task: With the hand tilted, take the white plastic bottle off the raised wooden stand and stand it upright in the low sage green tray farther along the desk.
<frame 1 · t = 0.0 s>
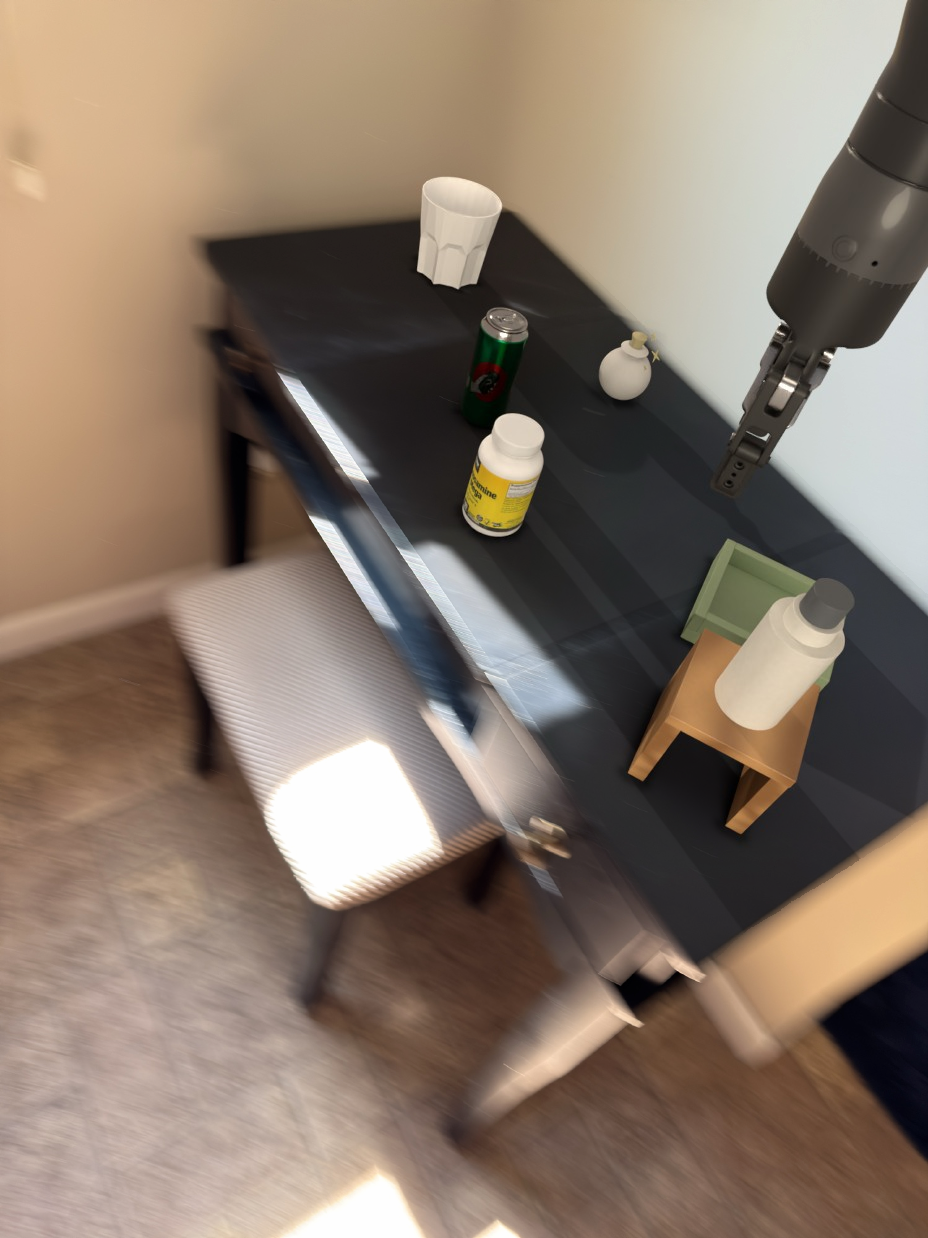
hand: (737, 459, 62), 23 cm above the table, tool pointing down, fingers open, 8 cm apart
sage green tray: (758, 628, 84), on the table
round potion bottle: (618, 399, 104), on the table
white bottle: (747, 700, 66), point 9 cm above the table, touching wooden stand
pill bottle: (491, 518, 86), on the table
soda can: (480, 416, 96), on the table
cup: (447, 272, 115), on the table
wooden stand: (699, 759, 73), on the table
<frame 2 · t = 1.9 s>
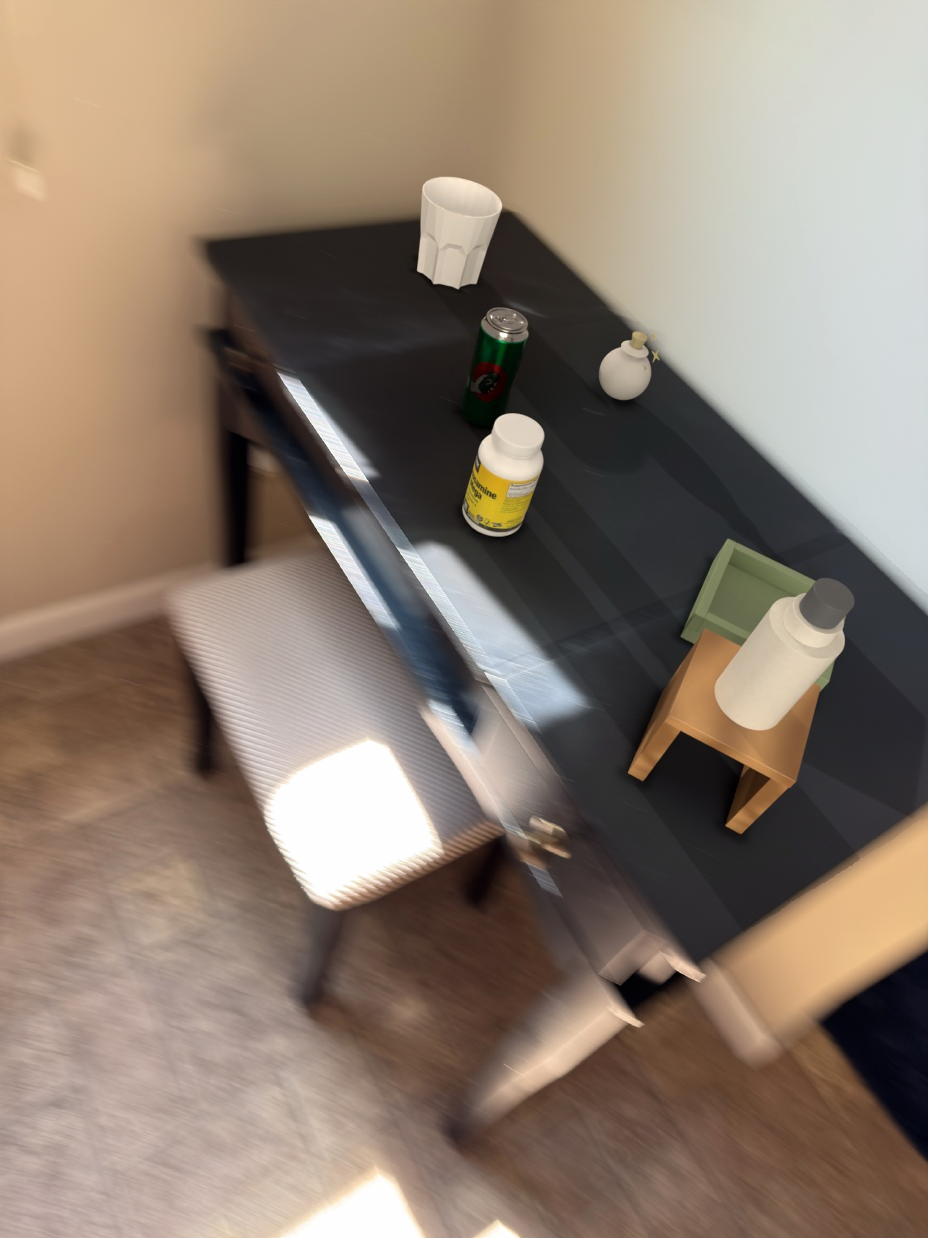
nothing on the table moved.
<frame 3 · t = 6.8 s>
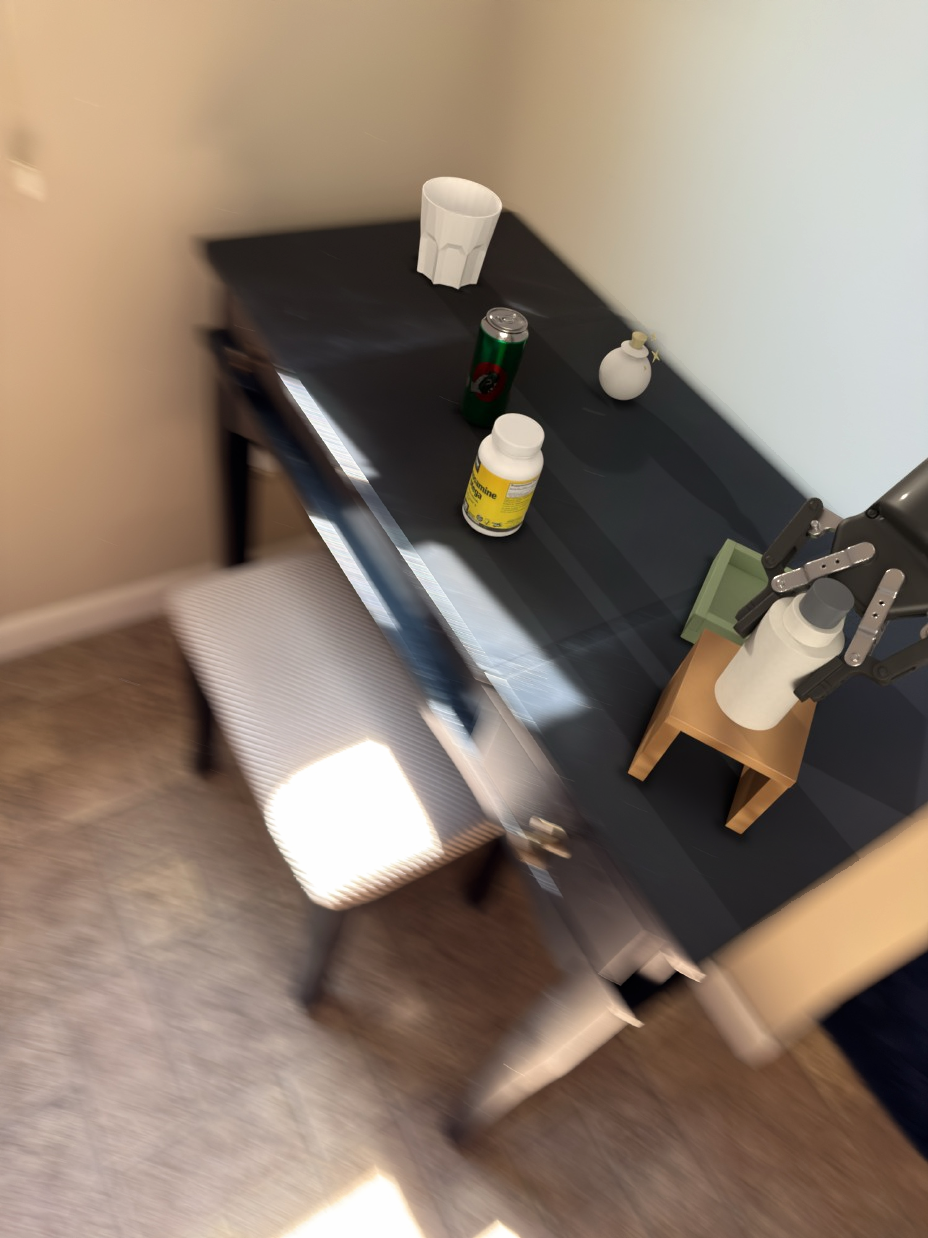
hand: (768, 664, 61), 15 cm above the table, tool tilted 45°, fingers closed on white bottle, 5 cm apart
white bottle: (748, 700, 66), point 9 cm above the table, touching gripper, wooden stand
everything else where it was.
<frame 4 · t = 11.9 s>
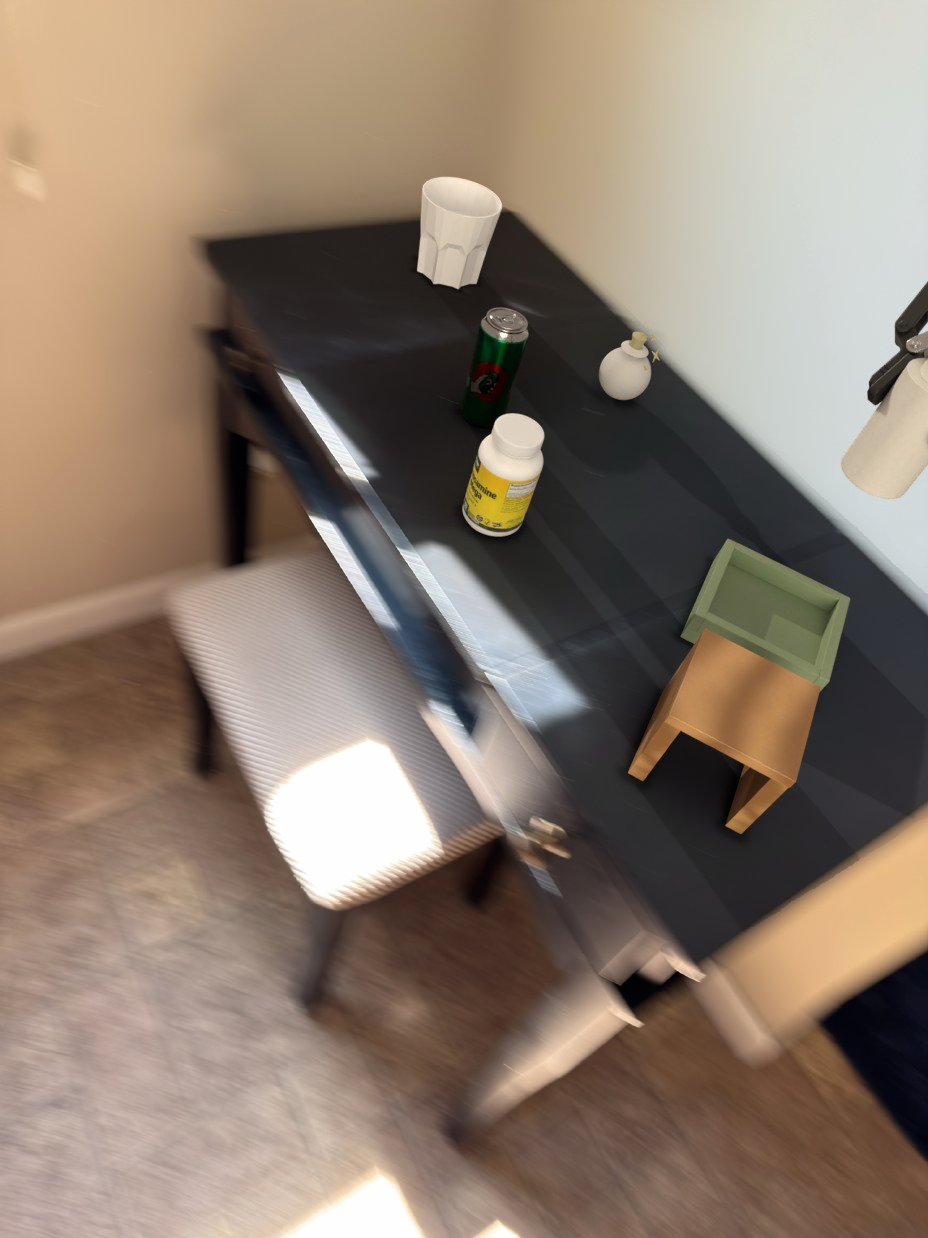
hand: (902, 422, 63), 26 cm above the table, tool tilted 45°, fingers closed on white bottle, 5 cm apart
white bottle: (873, 475, 68), point 20 cm above the table, touching gripper
everything else where it was.
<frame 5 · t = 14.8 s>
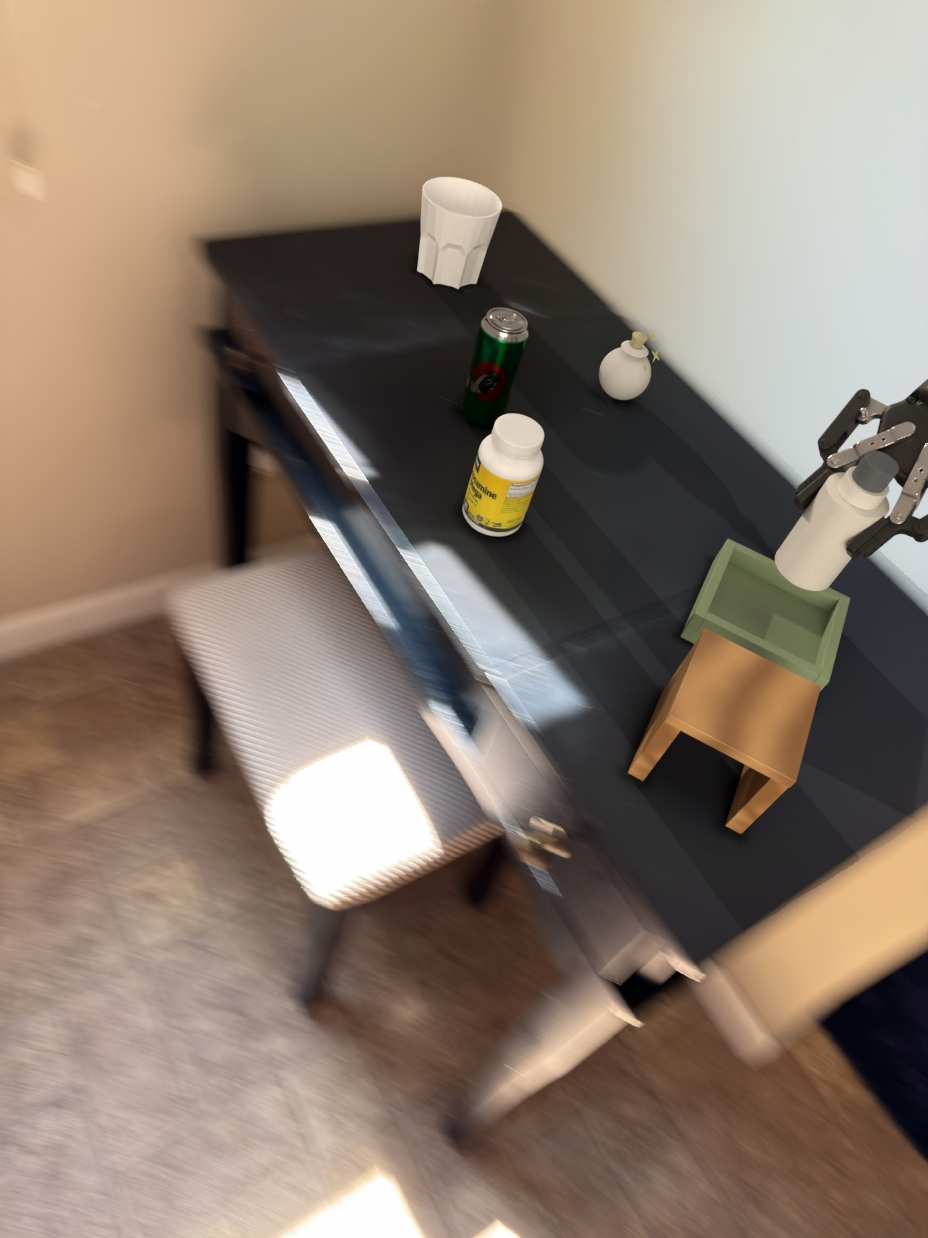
hand: (823, 529, 72), 14 cm above the table, tool tilted 45°, fingers closed on white bottle, 5 cm apart
white bottle: (803, 568, 77), point 9 cm above the table, touching gripper
everything else where it was.
when the fingers open (7 cm above the table, at t = 17.2 s): white bottle stays where it is, resting on sage green tray.
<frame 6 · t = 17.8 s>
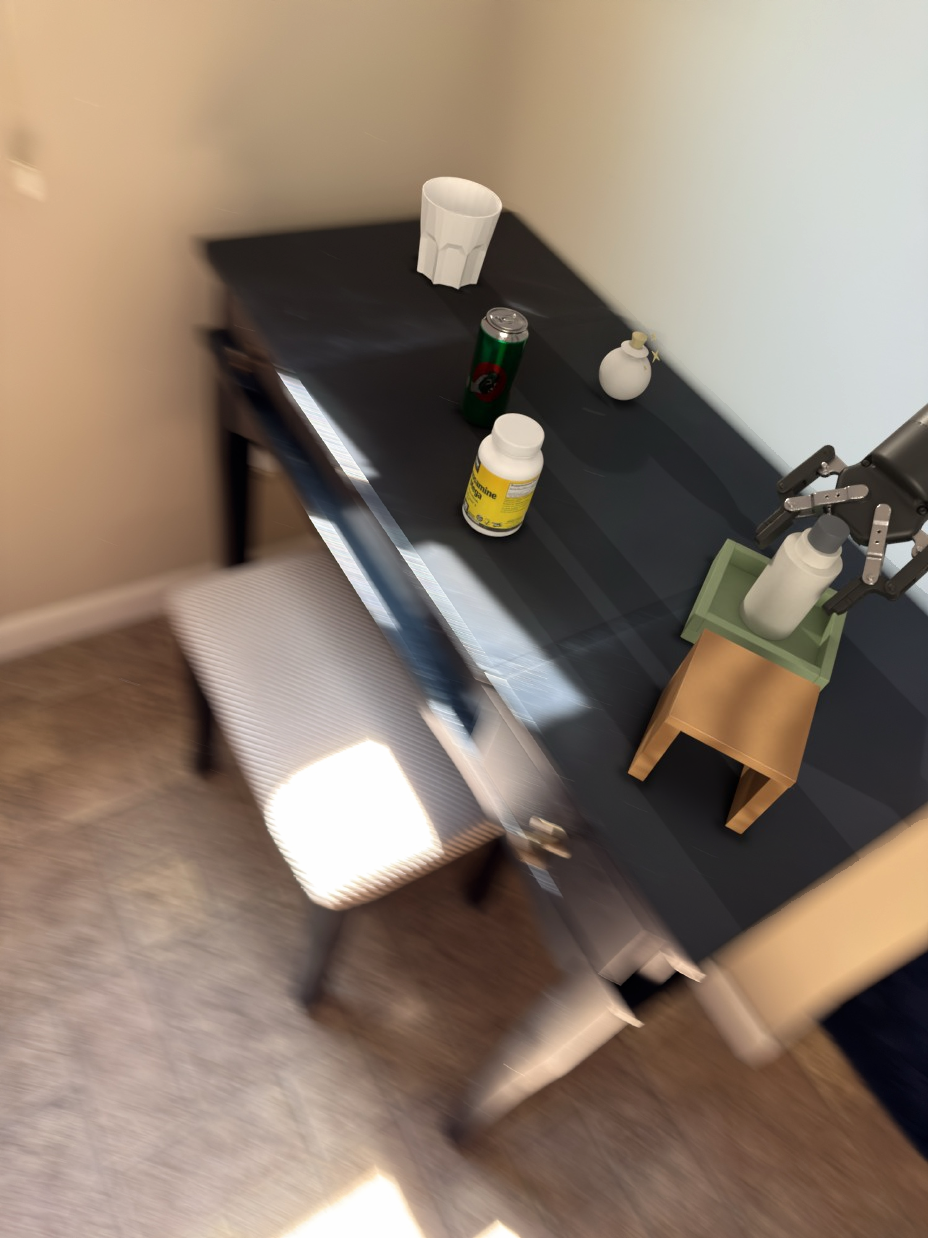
hand: (790, 577, 77), 8 cm above the table, tool tilted 45°, fingers open, 8 cm apart
white bottle: (765, 618, 83), point 1 cm above the table, touching sage green tray
everything else where it was.
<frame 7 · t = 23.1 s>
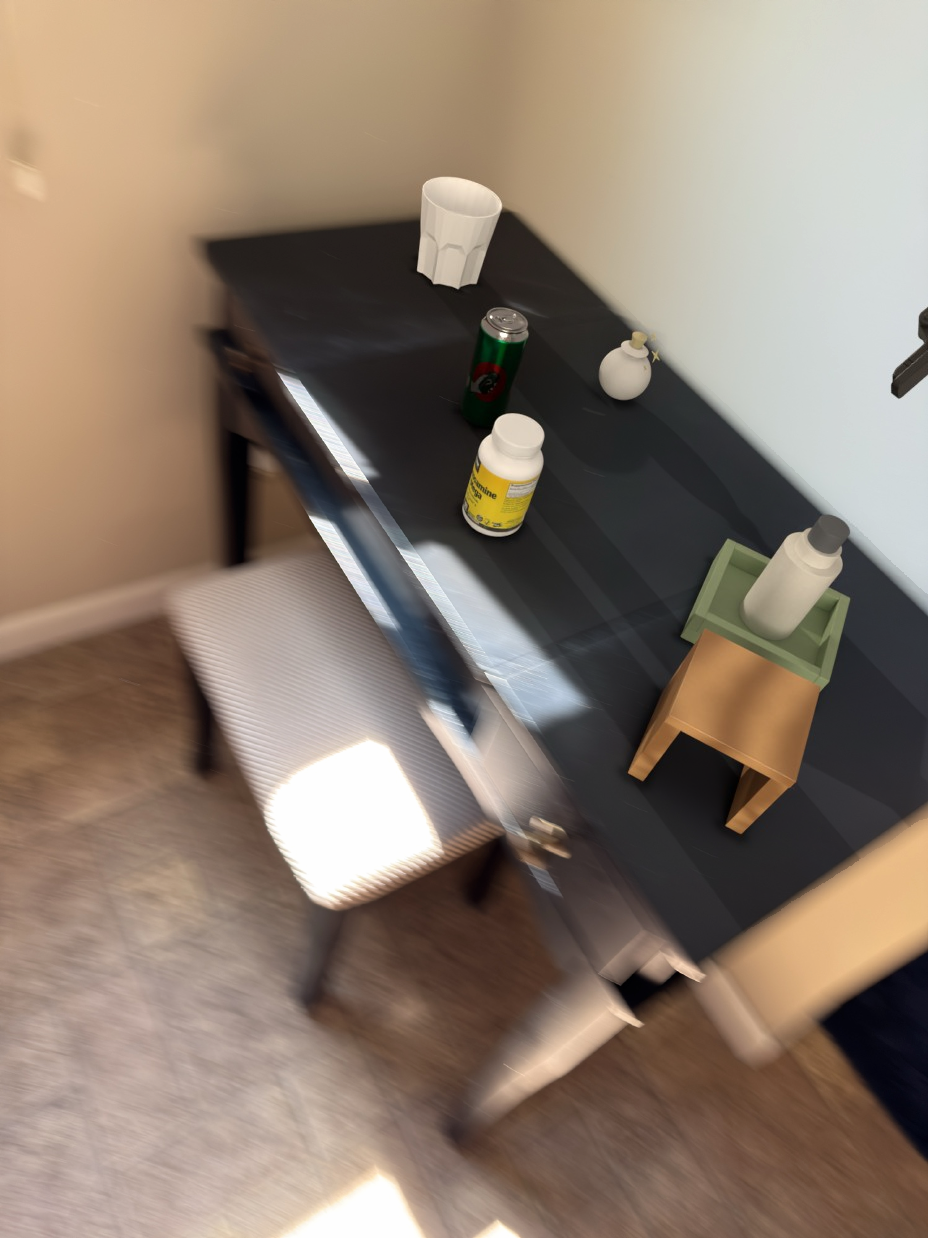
nothing on the table moved.
at the end: white bottle inside the target area on the sage green tray (0.1 cm from its centre), point 1.5 cm above the sage green tray's base; white bottle tilted 0°; the gripper is holding nothing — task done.
